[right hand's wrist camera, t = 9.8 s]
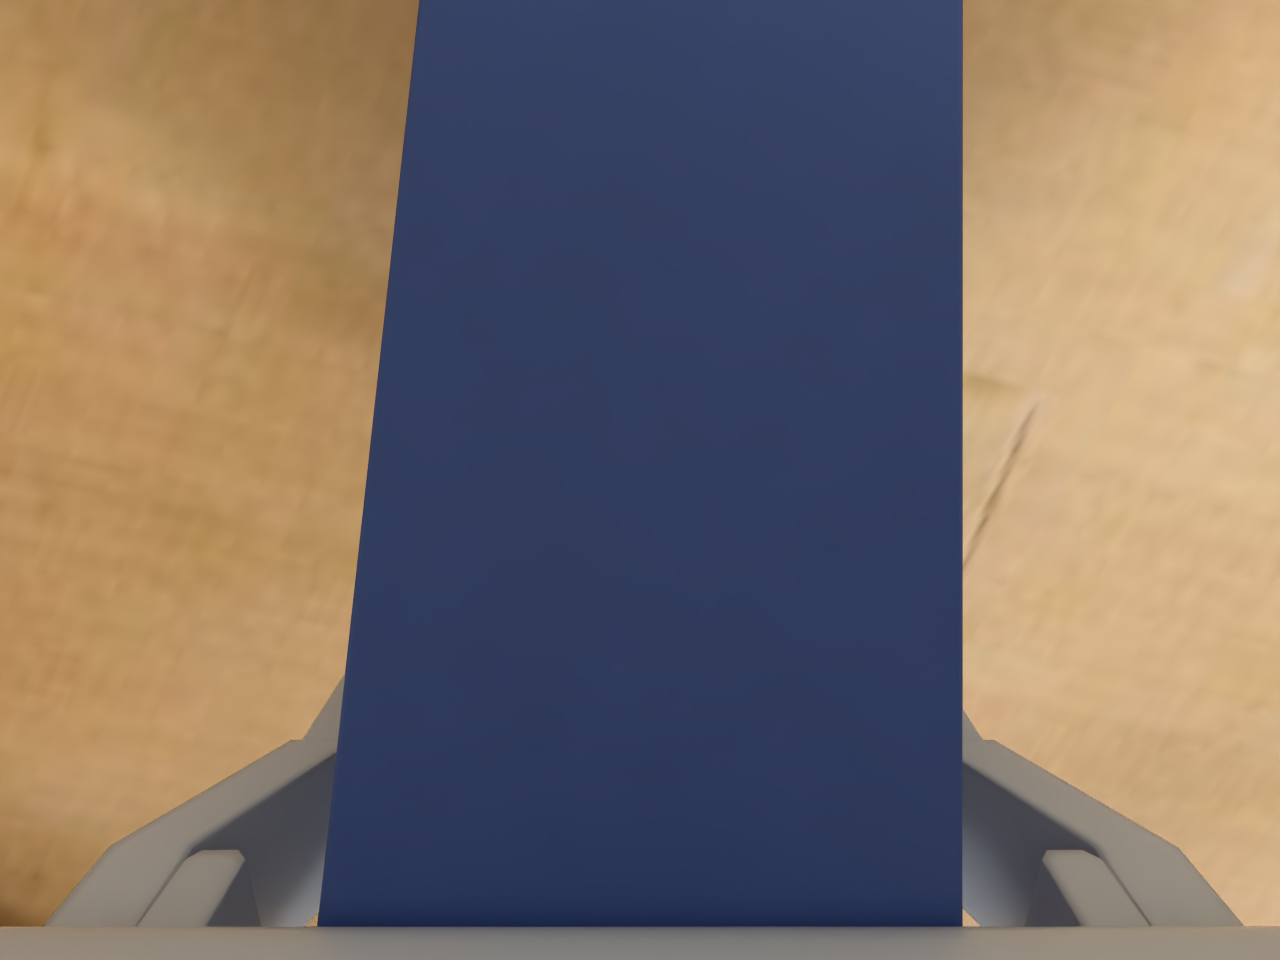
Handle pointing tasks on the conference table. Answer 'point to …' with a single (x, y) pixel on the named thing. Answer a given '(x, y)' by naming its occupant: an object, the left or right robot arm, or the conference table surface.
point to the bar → (664, 476)
